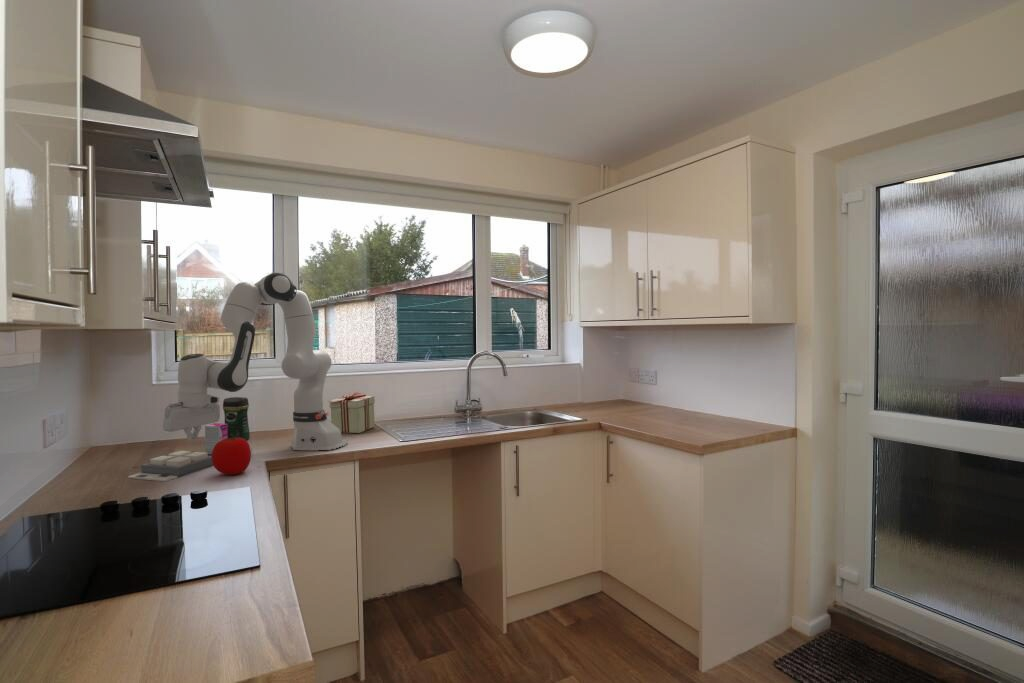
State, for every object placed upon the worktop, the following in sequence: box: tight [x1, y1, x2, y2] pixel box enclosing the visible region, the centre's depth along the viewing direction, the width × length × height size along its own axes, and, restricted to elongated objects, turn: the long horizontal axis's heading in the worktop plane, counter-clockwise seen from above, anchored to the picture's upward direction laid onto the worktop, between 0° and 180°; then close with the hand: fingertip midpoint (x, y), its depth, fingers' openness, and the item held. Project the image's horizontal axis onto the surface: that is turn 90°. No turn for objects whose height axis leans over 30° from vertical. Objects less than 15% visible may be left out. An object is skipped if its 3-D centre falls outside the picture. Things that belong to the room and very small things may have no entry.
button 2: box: [166, 457, 191, 467], centre depth 177 cm, size 5×5×2 cm
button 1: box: [149, 455, 175, 465], centre depth 179 cm, size 5×5×2 cm
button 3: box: [167, 450, 193, 458], centre depth 185 cm, size 5×5×2 cm
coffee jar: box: [222, 396, 251, 441], centre depth 224 cm, size 10×8×19 cm
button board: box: [127, 456, 214, 482], centre depth 179 cm, size 16×20×3 cm
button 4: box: [184, 451, 208, 461], centre depth 184 cm, size 5×5×2 cm
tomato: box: [212, 436, 252, 476], centre depth 175 cm, size 12×12×13 cm
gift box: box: [327, 391, 375, 434], centre depth 244 cm, size 17×18×17 cm
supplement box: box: [204, 422, 228, 456], centre depth 201 cm, size 6×6×12 cm
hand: (192, 439), depth 184 cm, fingers closed
